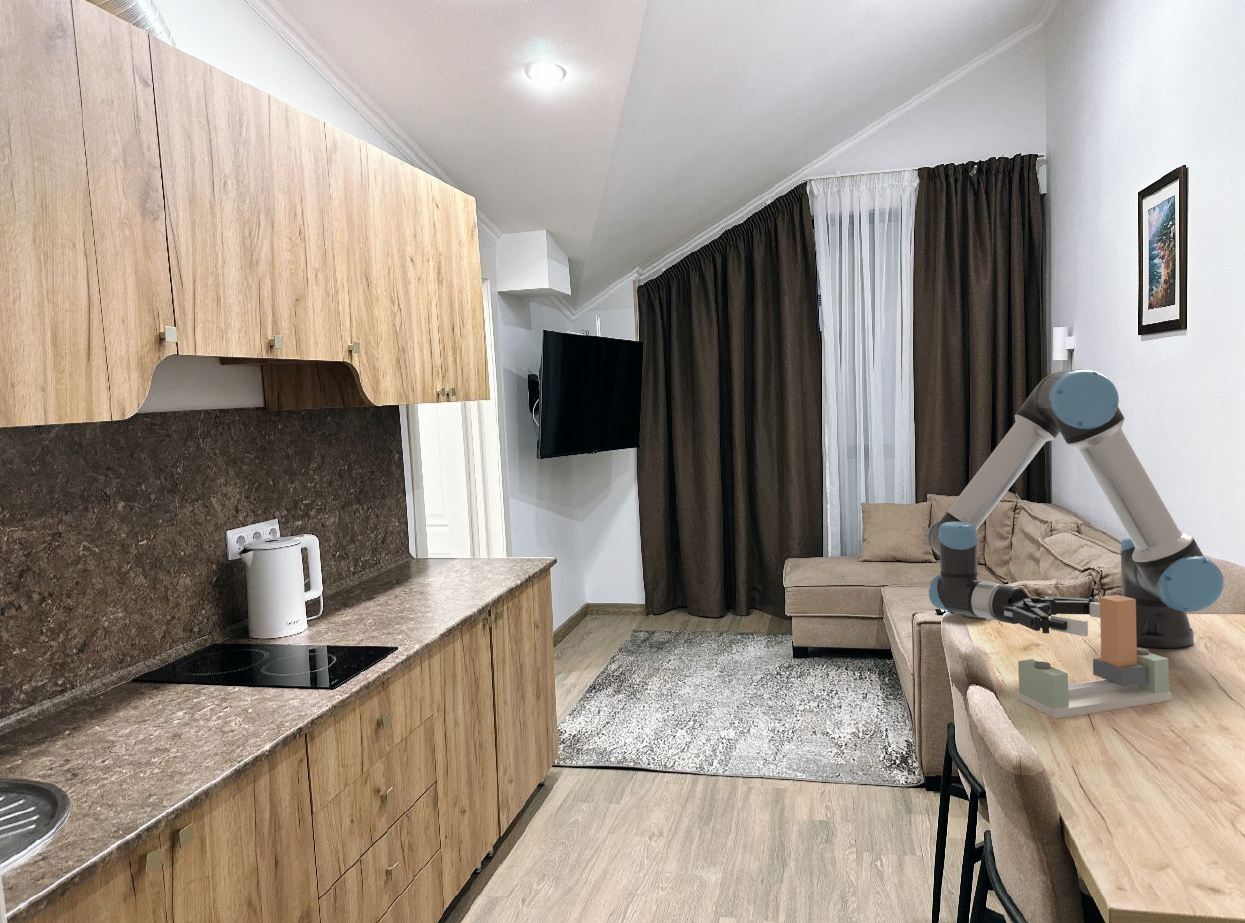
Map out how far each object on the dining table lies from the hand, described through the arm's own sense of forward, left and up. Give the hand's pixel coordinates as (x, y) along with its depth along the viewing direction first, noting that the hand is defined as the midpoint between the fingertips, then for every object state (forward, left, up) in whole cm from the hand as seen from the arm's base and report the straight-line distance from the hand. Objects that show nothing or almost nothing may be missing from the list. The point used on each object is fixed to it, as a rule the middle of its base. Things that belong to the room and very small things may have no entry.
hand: (1106, 621), depth 157 cm
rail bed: (+5, +2, -14) cm, 15 cm away
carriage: (-1, +2, -10) cm, 10 cm away
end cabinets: (+5, +2, -12) cm, 13 cm away
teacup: (-14, -59, -14) cm, 62 cm away
